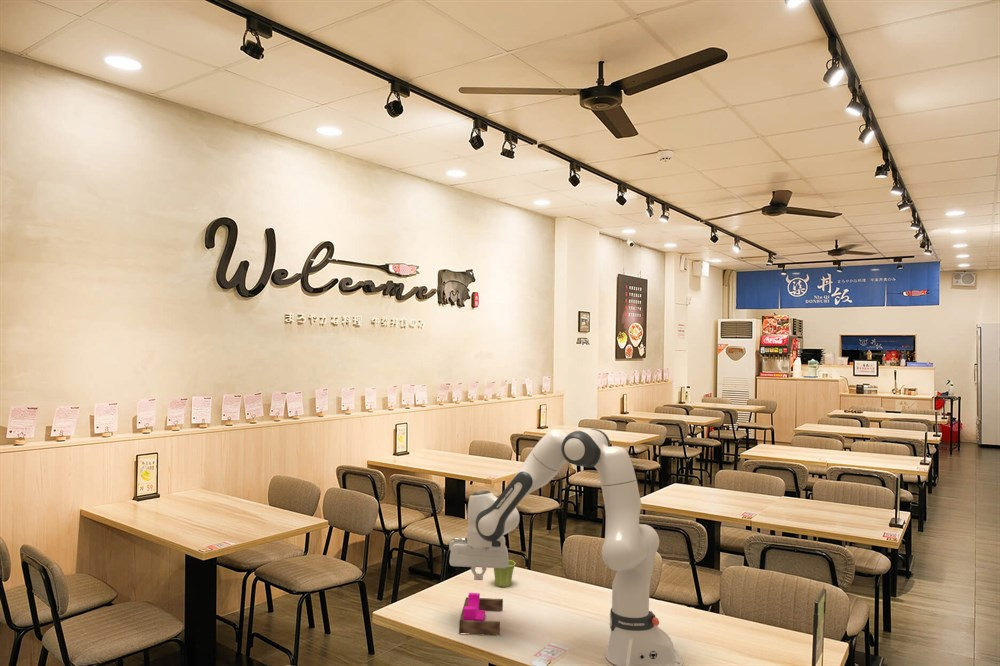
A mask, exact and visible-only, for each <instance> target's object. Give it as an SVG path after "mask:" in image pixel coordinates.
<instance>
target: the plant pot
mask: <svg viewBox="0 0 1000 666" xmlns="http://www.w3.org/2000/svg"><path fill="white" fill-rule="evenodd" d="M516 564H517V563H516V562H515V561H514V560H511V559H508V567H507V568H493V572H494V584H495V586H496V587H499V588H501V587H502V588H507V587H510V586H511V585H512V580H513V573H514V569H515V566H516Z"/></svg>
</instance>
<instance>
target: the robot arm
mask: <svg viewBox="0 0 1000 666" xmlns="http://www.w3.org/2000/svg"><path fill="white" fill-rule="evenodd" d="M608 436H609V435H607V434H606V433H605V432H604V431H602V430H599V429H596V428H590V429H589V428H583V429H579V430H575V431H571V432H570V433H569V434H568V433H567V432H565V431H564V430H562V429H559V428H553V429H550V430H549V431H548V432H547V433H546V434H544V436H542V437H541V438H540V440H539V441H538V442H537V443H536V444H535V446H534V447H533V448H532V450H531V452H529V454H528V455H527V456H526V459H525V460H524V462H523V463H522V464H521V466H520V468H519V470H518V471H517V472H516V474H515V475H514V477H513V478H512V480H511V481H510V482H509V483H508V485H507V486H506V487H505V489H504V490H502V492H501V494H500V495H499V496H498V497H497V496H495V494H493V492H492V491H490V490H481V491H476V492H473V493H472V494H471V495H470V496H469V498H468V503H467V516H466V517H467V523H468V524H467V528H466V538H465V537H454V538H452V539H450V540H449V543H448V545H449V547H448V548H449V550H450V552H449V560H448V561H449V565H450V566H451V567H463V568H466V567H467V568H470V571H471V572H472V574H473V580H474V581H483V580H484V575H485V574H486V572H487V569H488V568H489V569H494V568H507V567H508V560H509V552H508V547H507V545H506V537H505V535H507V534H509V533H510V532H512V531H514V530H515V529H516V528H517V527H518V526H519V524H520V520H521V517H520V512H519V510H518V508H517V507H518V506H519V504H520V503H521V502H522V501H523V500H524V498H526V497H527V496H528V495H530V494H532V493H533V492H535V491H537V490H539V489H541V488H543V487H544V486H546V485H547V484H548V483H550V482H551V481H552V480H553V479H554V478H555V477H556V476H557V474H558V473H559V472H560V471H561V469H562V468H563V466H564V465H565V463H566V462H568V463H570V464H571V465H574V466H579V467H585V468H590V469H591V468H594V469H596V471H597V473H598V476H599V482H600V487H601V492H602V498H603V503H604V510H605V532H604V540H603V544H602V547H601V558H602V560H603V562H604V564H605V565H606V566H607V567H608V568H609V569H610V570H613V571H615V577H614V579H613V580H612V584H611V585H612V586H611V587H612V588H611V608H610V613H609V627H610V632H609V633H610V634H609V641H608V645H607V649H606V652H605V658H606V659H607V661H609V663H610V664H613V665H614V666H683V660H682V659H683V658H682V657H681V655H680V654H679V653H678V651H676V650H675V647H674V644H673V641H672V638H671V637H670V636H669V635H668V634H667V632H665V631H664V630H662V628H660V627H659V625H660V621H659V618H658V617H656V614H654V612H653V611H652V610H650V586H651V579H652V575H653V569H654V565H655V564H654V563H655V558H656V554H657V552H658V549H659V547H660V537H659V535H658V533H657V531H656V529H654V527H652V526H650V525H649V524H644V523H643V524H641V523H640V513H641V509H642V500H641V496H640V492H639V486H638V480H637V477H636V472H635V468H634V465H633V462H632V460H631V457H630V454H629V452H628V450H627V449H626V448H624V447H621V446H617V445H615V446H611V441H610V438H609V437H608ZM476 568H481V573H477V572H476Z"/></svg>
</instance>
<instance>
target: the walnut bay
mask: <svg viewBox="0 0 1000 666" xmlns="http://www.w3.org/2000/svg"><path fill="white" fill-rule="evenodd" d="M465 606H468V596H467V597H465V600H464V604H463V608H462V611H461V614H460V618H459V622H458V623H459V625H458V628H459V629H458V634H459V633H469V634H468V635H474V634H484V635H483V636H497V635H500V633H501V621H495V620H494V621H493V620H492V621H491V620H485V621H473V620H464V607H465ZM503 606H504V598H493V597H492V598H490V597H489V598H488V597H487V598H486V597H482V598H481V597H480V602H479V610H485V612H500V611H503Z"/></svg>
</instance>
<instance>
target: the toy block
mask: <svg viewBox="0 0 1000 666" xmlns="http://www.w3.org/2000/svg"><path fill="white" fill-rule="evenodd" d="M480 593H481V592H479V593H478V592H469V593H468V596H467V597H468V606H465V607H464V606H463V607H464V620H473V621H486V611H485V610H479V602H480V598H481V597H480V596H481V595H480Z"/></svg>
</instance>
